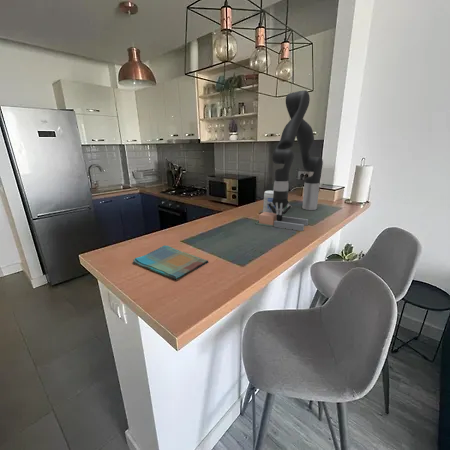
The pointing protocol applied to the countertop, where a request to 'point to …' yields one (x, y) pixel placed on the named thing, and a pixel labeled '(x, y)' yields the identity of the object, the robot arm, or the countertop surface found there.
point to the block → (267, 218)
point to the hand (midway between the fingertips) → (279, 221)
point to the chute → (291, 223)
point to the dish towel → (170, 262)
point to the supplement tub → (268, 201)
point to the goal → (263, 224)
